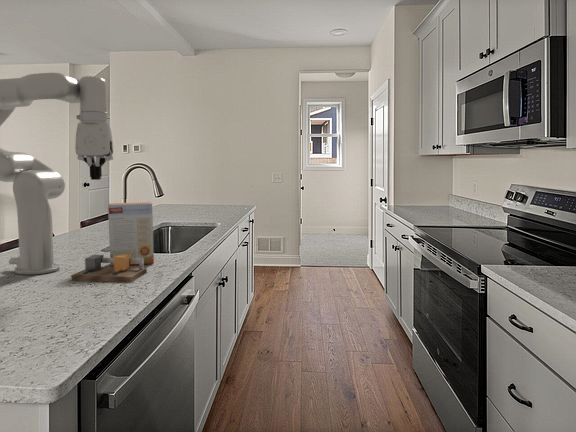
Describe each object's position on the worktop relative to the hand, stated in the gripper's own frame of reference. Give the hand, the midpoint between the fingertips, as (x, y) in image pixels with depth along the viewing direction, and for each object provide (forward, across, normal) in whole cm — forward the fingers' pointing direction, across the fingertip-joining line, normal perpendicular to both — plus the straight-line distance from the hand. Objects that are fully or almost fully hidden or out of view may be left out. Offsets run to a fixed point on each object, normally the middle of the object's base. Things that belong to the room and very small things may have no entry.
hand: (95, 179), depth 148 cm
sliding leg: (+27, +9, -4) cm, 29 cm away
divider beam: (+28, +6, -4) cm, 29 cm away
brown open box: (+29, +6, -5) cm, 30 cm away
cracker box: (+29, +5, +14) cm, 33 cm away
